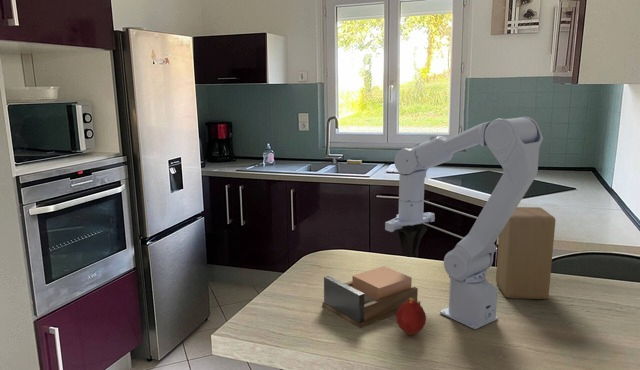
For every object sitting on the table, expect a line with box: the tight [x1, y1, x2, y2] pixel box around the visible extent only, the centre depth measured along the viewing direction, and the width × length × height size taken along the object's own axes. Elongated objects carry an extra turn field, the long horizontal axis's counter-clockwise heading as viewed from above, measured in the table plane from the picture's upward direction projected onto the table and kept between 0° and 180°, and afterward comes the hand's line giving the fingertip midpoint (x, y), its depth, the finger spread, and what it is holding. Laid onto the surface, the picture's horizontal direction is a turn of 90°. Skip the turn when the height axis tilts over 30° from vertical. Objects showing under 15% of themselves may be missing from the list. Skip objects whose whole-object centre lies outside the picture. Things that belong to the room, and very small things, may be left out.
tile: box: [351, 265, 413, 300], centre depth 113 cm, size 9×10×3 cm
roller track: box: [321, 275, 421, 328], centre depth 112 cm, size 13×18×7 cm
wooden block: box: [495, 206, 557, 300], centre depth 117 cm, size 10×10×20 cm
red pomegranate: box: [395, 298, 427, 336], centre depth 98 cm, size 6×6×8 cm
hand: (409, 255), depth 117 cm, fingers closed
